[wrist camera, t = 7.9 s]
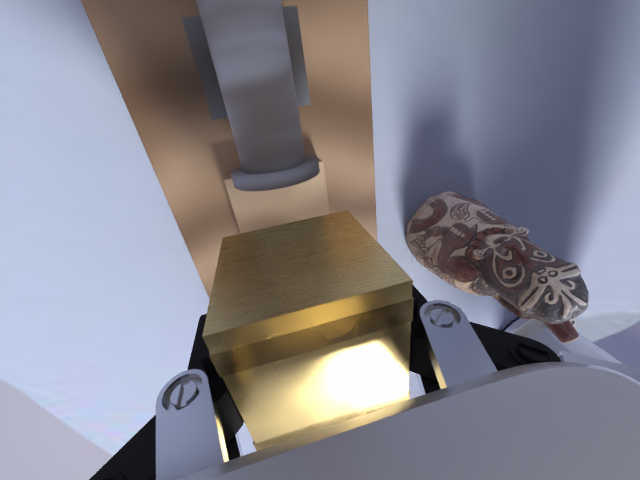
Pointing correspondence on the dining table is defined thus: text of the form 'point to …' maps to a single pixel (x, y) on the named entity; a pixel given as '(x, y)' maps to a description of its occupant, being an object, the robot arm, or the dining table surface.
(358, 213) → the shaft jig
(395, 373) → the block
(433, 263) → the figurine
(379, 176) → the dining table surface
